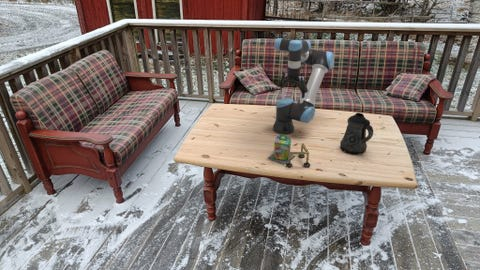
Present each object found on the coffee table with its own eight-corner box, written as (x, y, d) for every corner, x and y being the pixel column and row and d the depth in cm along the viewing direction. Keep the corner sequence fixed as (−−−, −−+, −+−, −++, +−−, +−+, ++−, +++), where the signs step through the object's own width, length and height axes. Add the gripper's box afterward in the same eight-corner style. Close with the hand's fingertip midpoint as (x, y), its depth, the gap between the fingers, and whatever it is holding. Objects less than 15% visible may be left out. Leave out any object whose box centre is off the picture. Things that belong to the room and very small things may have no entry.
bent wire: (284, 166, 202) (285, 152, 197) (300, 154, 214) (301, 140, 209) (301, 173, 195) (302, 159, 190) (317, 160, 207) (318, 146, 202)
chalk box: (273, 159, 208) (274, 138, 201) (276, 151, 215) (276, 131, 208) (288, 161, 205) (289, 139, 198) (290, 153, 213) (291, 133, 206)
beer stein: (343, 140, 229) (348, 106, 218) (373, 147, 220) (380, 112, 209) (336, 151, 217) (341, 116, 205) (367, 159, 208) (374, 122, 196)
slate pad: (268, 158, 210) (268, 157, 210) (279, 150, 218) (279, 149, 218) (284, 165, 203) (284, 163, 203) (294, 157, 211) (294, 155, 211)
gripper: (273, 64, 206) (272, 97, 216) (309, 72, 192) (306, 106, 202) (280, 62, 211) (279, 93, 221) (315, 69, 197) (312, 102, 207)
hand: (292, 100), depth 211 cm, fingers open, 13 cm apart
